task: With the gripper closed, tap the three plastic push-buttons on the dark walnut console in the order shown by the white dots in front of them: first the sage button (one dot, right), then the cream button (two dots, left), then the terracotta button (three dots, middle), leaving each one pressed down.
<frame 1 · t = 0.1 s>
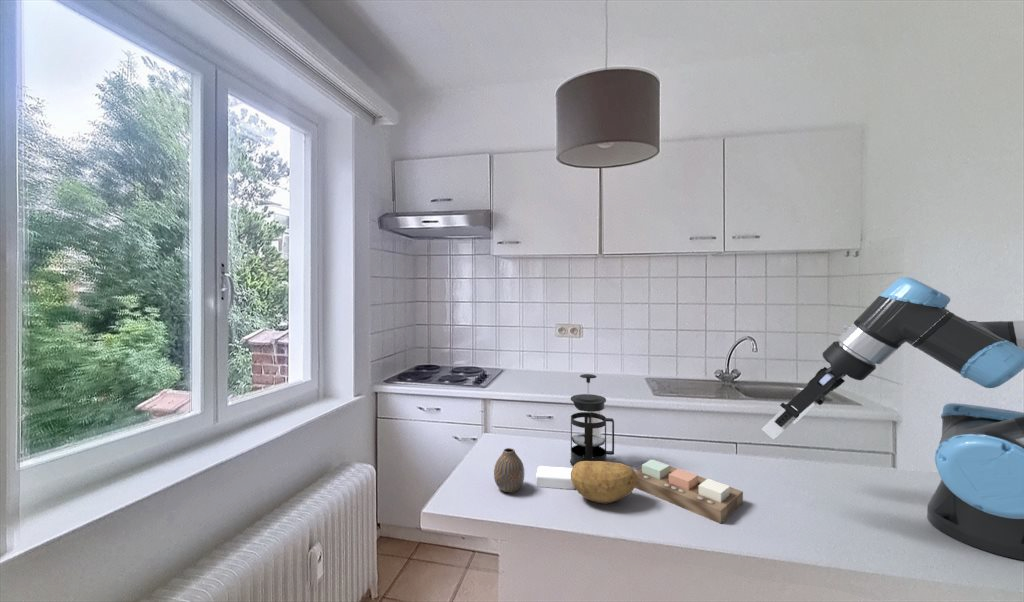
hand: (778, 426, 85), 15 cm above the counter, tool tilted 35°, fingers open, 13 cm apart
potato: (603, 500, 85), on the counter
terracotta button: (683, 481, 87), point 3 cm above the counter, slide at 0.0 cm
sage button: (655, 471, 92), point 3 cm above the counter, slide at 0.0 cm
vase: (509, 489, 90), on the counter
french press: (590, 464, 102), on the counter
console: (683, 493, 87), on the counter
cream button: (714, 492, 82), point 3 cm above the counter, slide at 0.0 cm
soap: (555, 484, 92), on the counter
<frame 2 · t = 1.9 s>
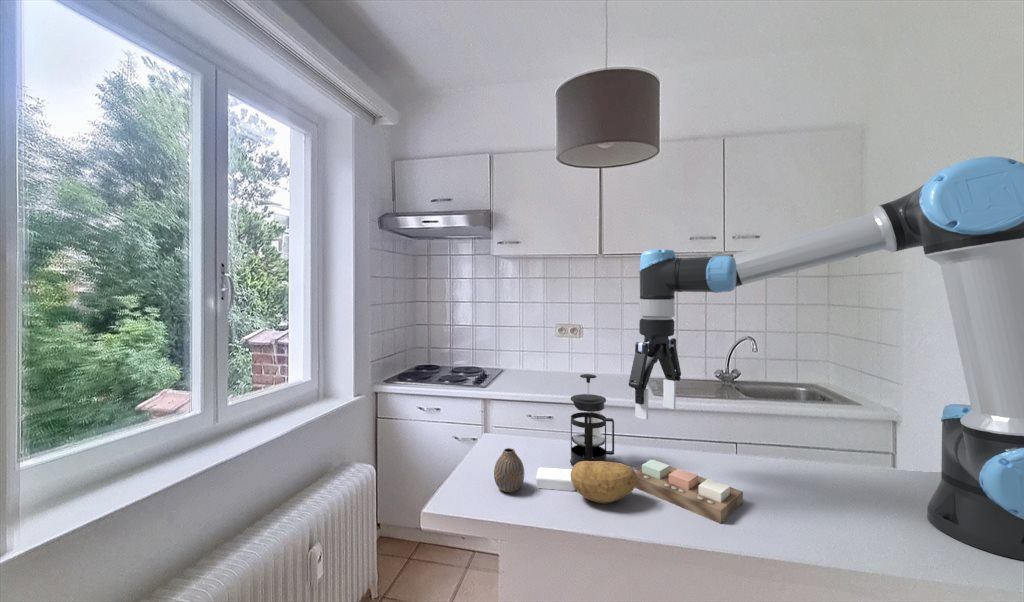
hand: (656, 412, 91), 16 cm above the counter, tool pointing down, fingers open, 11 cm apart
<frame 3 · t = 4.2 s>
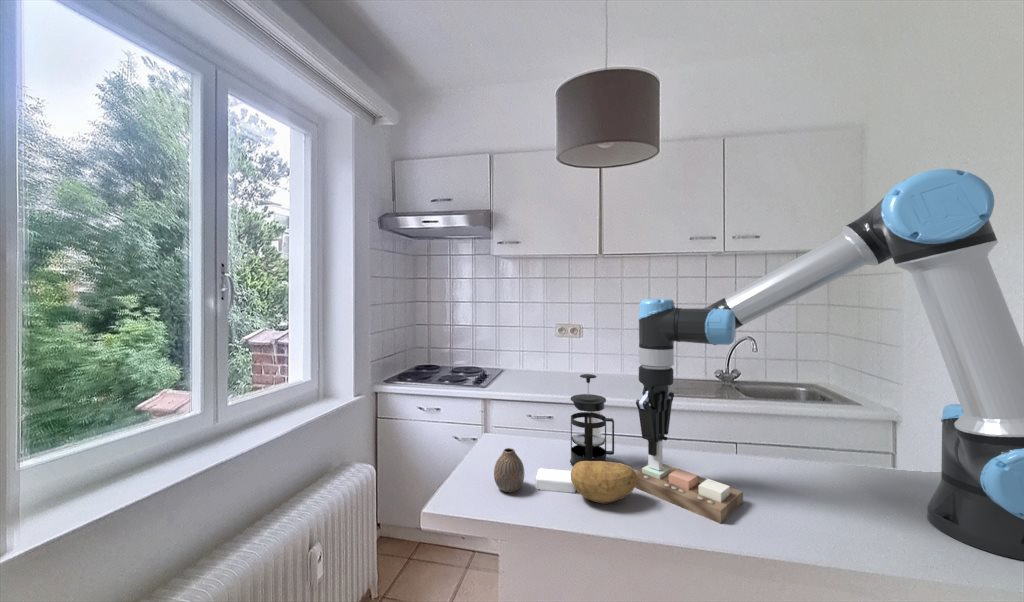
hand: (655, 467, 92), 4 cm above the counter, tool pointing down, fingers closed
sage button: (655, 475, 92), point 2 cm above the counter, slide at -0.9 cm, touching gripper
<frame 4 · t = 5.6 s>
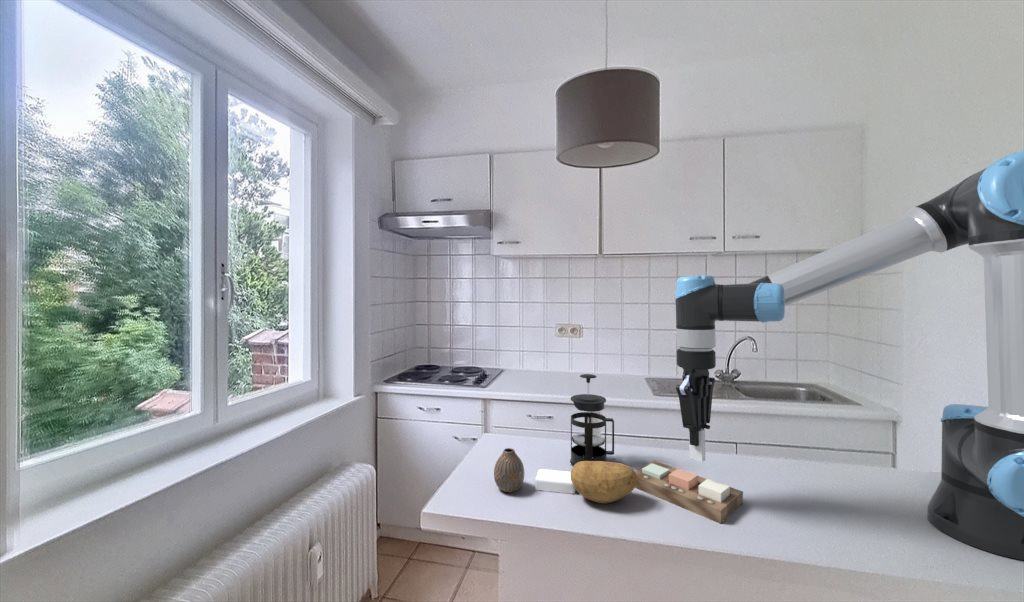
hand: (697, 459, 85), 9 cm above the counter, tool pointing down, fingers closed
sage button: (655, 475, 92), point 2 cm above the counter, slide at -0.9 cm
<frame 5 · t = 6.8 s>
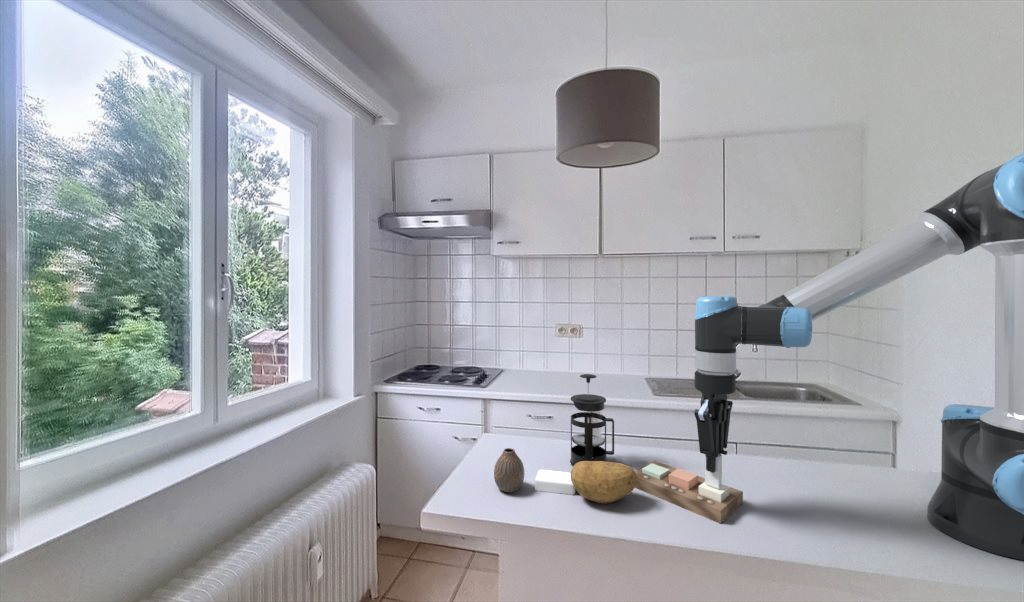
hand: (713, 485, 82), 4 cm above the counter, tool pointing down, fingers closed
cream button: (714, 493, 82), point 3 cm above the counter, slide at -0.2 cm, touching gripper
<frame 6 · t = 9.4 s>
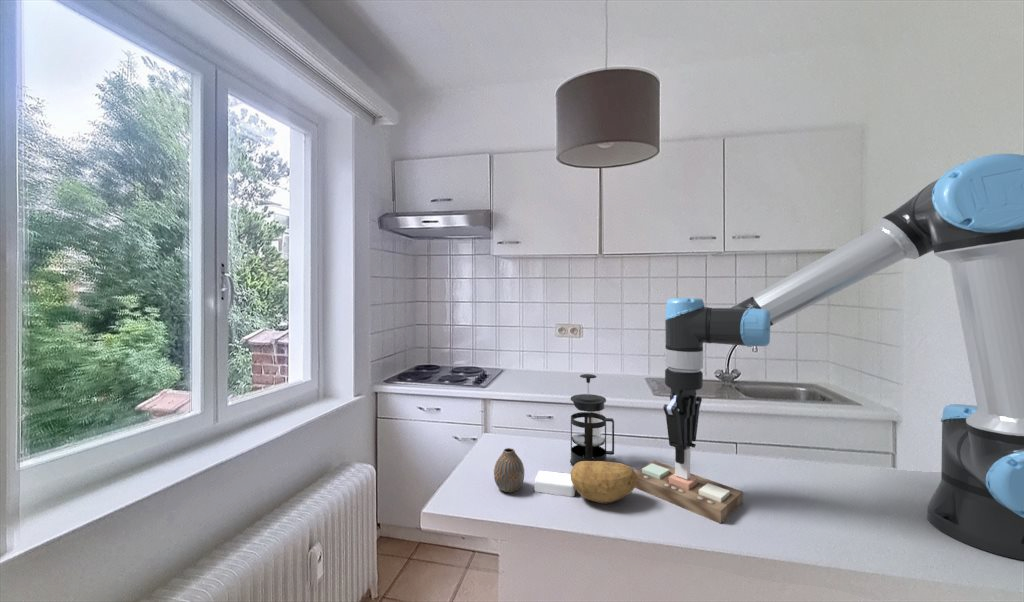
hand: (682, 476, 87), 4 cm above the counter, tool pointing down, fingers closed
terracotta button: (683, 484, 87), point 2 cm above the counter, slide at -0.6 cm, touching gripper
cream button: (714, 497, 82), point 2 cm above the counter, slide at -1.0 cm
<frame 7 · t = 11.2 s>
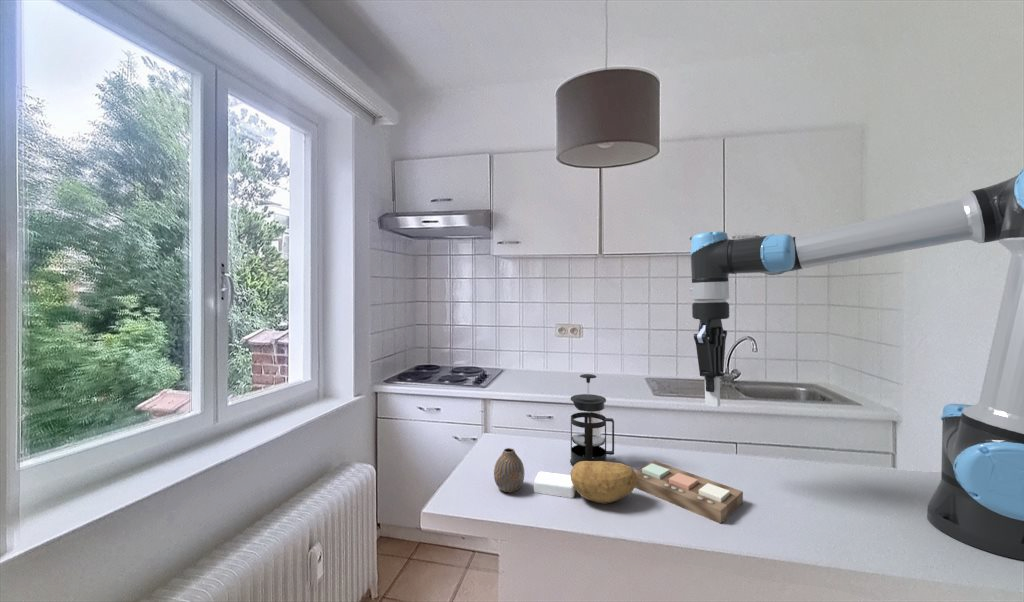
hand: (712, 405, 90), 18 cm above the counter, tool pointing down, fingers closed
terracotta button: (683, 485, 87), point 2 cm above the counter, slide at -0.9 cm
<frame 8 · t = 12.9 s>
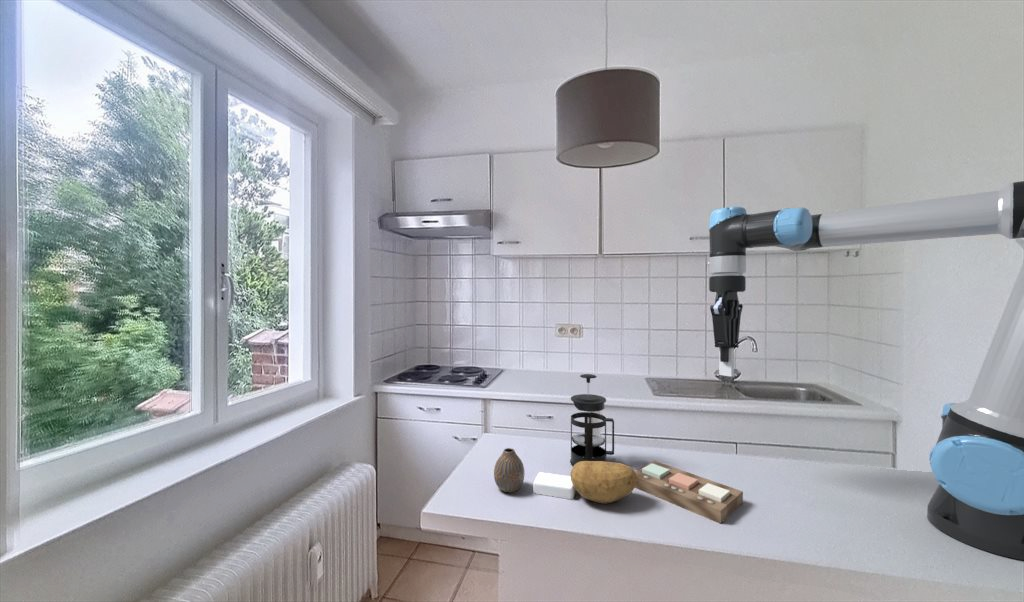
hand: (726, 375, 94), 24 cm above the counter, tool pointing down, fingers closed
at the end: sage button slide at -0.9 cm; cream button slide at -1.0 cm; terracotta button slide at -0.9 cm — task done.
